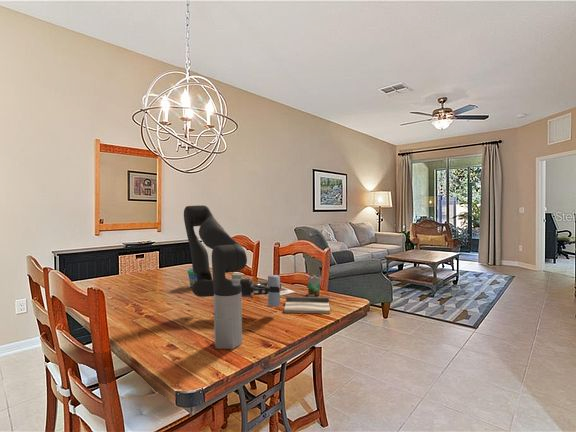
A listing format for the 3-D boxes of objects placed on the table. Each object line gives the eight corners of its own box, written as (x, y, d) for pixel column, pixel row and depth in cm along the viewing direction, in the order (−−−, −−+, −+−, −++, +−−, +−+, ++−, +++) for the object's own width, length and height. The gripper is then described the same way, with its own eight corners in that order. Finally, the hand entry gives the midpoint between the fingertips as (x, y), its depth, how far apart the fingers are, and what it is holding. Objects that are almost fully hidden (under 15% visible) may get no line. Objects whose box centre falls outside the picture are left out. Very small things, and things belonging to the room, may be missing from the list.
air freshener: (234, 296, 161) (234, 276, 161) (224, 293, 167) (224, 274, 166) (250, 291, 169) (249, 273, 169) (240, 289, 175) (239, 271, 174)
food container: (320, 299, 154) (320, 279, 154) (308, 298, 155) (307, 278, 155) (322, 292, 166) (322, 273, 166) (311, 291, 167) (311, 273, 167)
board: (330, 313, 133) (330, 306, 133) (283, 312, 135) (283, 305, 135) (328, 303, 147) (328, 297, 147) (286, 302, 149) (286, 296, 149)
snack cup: (207, 289, 174) (207, 271, 174) (187, 291, 171) (187, 272, 171) (206, 283, 189) (205, 266, 189) (187, 284, 186) (187, 267, 186)
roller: (279, 306, 129) (279, 277, 129) (267, 306, 129) (267, 277, 129) (280, 302, 134) (280, 275, 134) (269, 302, 134) (268, 275, 134)
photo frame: (272, 296, 158) (254, 288, 172) (272, 298, 158) (254, 290, 172) (295, 291, 166) (276, 284, 181) (295, 293, 166) (276, 286, 181)
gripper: (236, 282, 126) (278, 283, 124) (244, 275, 140) (281, 275, 138) (236, 301, 126) (278, 301, 124) (244, 292, 140) (281, 292, 139)
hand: (280, 288), depth 131 cm, fingers closed on roller, 5 cm apart
